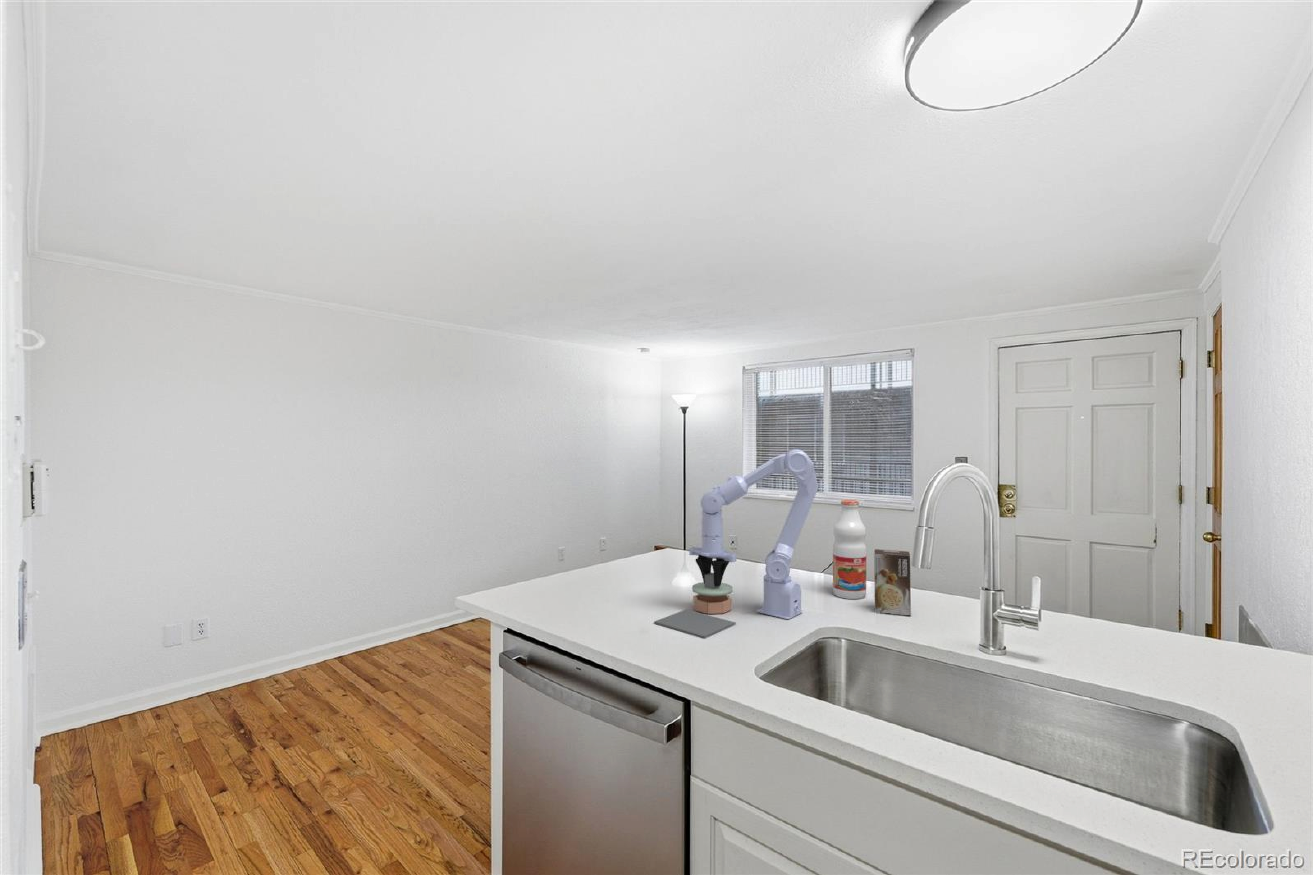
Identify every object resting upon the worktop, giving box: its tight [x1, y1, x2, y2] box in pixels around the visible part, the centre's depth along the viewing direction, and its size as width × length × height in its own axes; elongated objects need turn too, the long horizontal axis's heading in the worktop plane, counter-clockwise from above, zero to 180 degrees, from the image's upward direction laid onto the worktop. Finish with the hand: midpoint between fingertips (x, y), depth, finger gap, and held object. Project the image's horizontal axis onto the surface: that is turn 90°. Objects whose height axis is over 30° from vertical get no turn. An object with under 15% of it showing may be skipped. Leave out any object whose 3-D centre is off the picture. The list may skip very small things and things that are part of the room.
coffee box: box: [873, 548, 912, 616], centre depth 159 cm, size 9×6×16 cm
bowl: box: [692, 593, 733, 615], centre depth 162 cm, size 10×10×3 cm
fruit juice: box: [832, 499, 867, 600], centre depth 174 cm, size 9×9×28 cm
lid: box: [691, 572, 734, 596], centre depth 162 cm, size 11×11×4 cm
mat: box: [653, 609, 736, 639], centre depth 149 cm, size 16×13×1 cm
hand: (712, 584), depth 162 cm, fingers closed on lid, 3 cm apart
